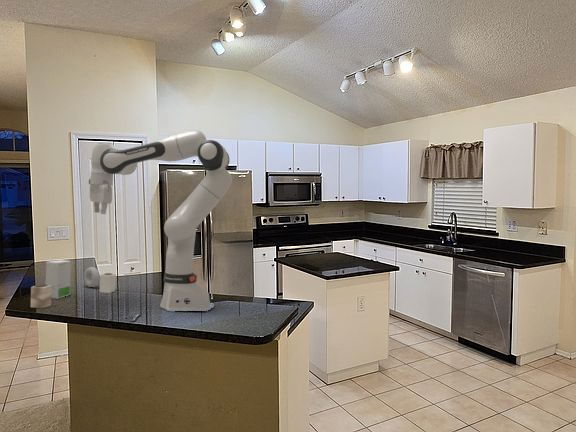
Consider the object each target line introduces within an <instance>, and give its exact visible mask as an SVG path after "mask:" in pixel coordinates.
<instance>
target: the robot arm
mask: <svg viewBox="0 0 576 432" xmlns="http://www.w3.org/2000/svg"><path fill="white" fill-rule="evenodd" d="M229 155H230V154H229V153H228V151H227V150H226V148H225V146H223V145H222V144H221V143H220V142H218V141H216V140H213V139H207V138H206V135H205V134H204V133H203V132H202V131H200V130H195V129H194V130H187V131H181V132H177V133H175V134H172V135H168V136H166V137H163V138H161V139H158V140H155V141H153V142H150V143H146V144H142V145H137V146H134V147H130V148H126V149H119V148H117V146H115V145H114V144H113V143H111V142H101V143H100V142H99V143H97V144H95V145H94V146H93V148H92V153H91V160H90V162H91V170H90V177H89V179H88V184H89V199H90V201H91V202H92V203H93V208H94V211H93V212H94V213H97V214H98V213H100V214H101V215H106V214H107V209H108V206H109V205H110V204H112V202H113V201H112V200H113V183H114V175H123V176H129V175H131V174H133V173H134V172H135V171H136V169H137V167H138V163H142V162H146V161H163V162H179V161H183V160H186V159H189V158H194V157H197V158H198V160H199V162H200V163H201V165H202V166H203V168H204V169H205V170H206V175H204V176H203V177H204V178H203V179H202V180H201V181H200V182H199V184H198V185H196V187H195V189H193V191H192V192H191V193H190V194H189V196H188V197H187V198H185V200H184V201H183V202H181V204H180V205H179V206H178V207H177V208H176V209H175V210H174V211H173V213H172V214H171V215H170V216H169V217H168V218H167V219H166V221H165V222H164V226H163V230H164V231H163V232H164V234H165V235H166V237H167V238H168V243H167V249H166V252H165V271H164V274H163V293H162V298H161V301H160V304H159V307H160V308H161V309H164V310H165V311H166V312H175V311H184V310H206V309H205V308H208V307H210V302H211V300H210V293H209V292H208V290H207V289H205V287H203V286H202V285H201V284H199V282H198V281H197V278H198V274H195V273H194V272H193V269H194V268H193V267H194V264H193V263H194V251H195V243H196V235H197V234H196V232H197V228H198V226H199V225H201V224H202V222H203V221H204V220H205V219H206V218H207V216H208V215H209V214H210V213H211V212H212V211H213V210H214V208H215V207H216V206H217V205H218V203H219V202H220V201H221V200H222V198H223V197H224V196H225V194H226V193H227V191H228V190H229V189H230V186H231V185H232V183H233V177H232V174H231V173H230V172H229V171H228V170H227V168H228V166H229V164H230V156H229ZM108 204H109V205H108ZM100 205H101V208H100Z"/></svg>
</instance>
